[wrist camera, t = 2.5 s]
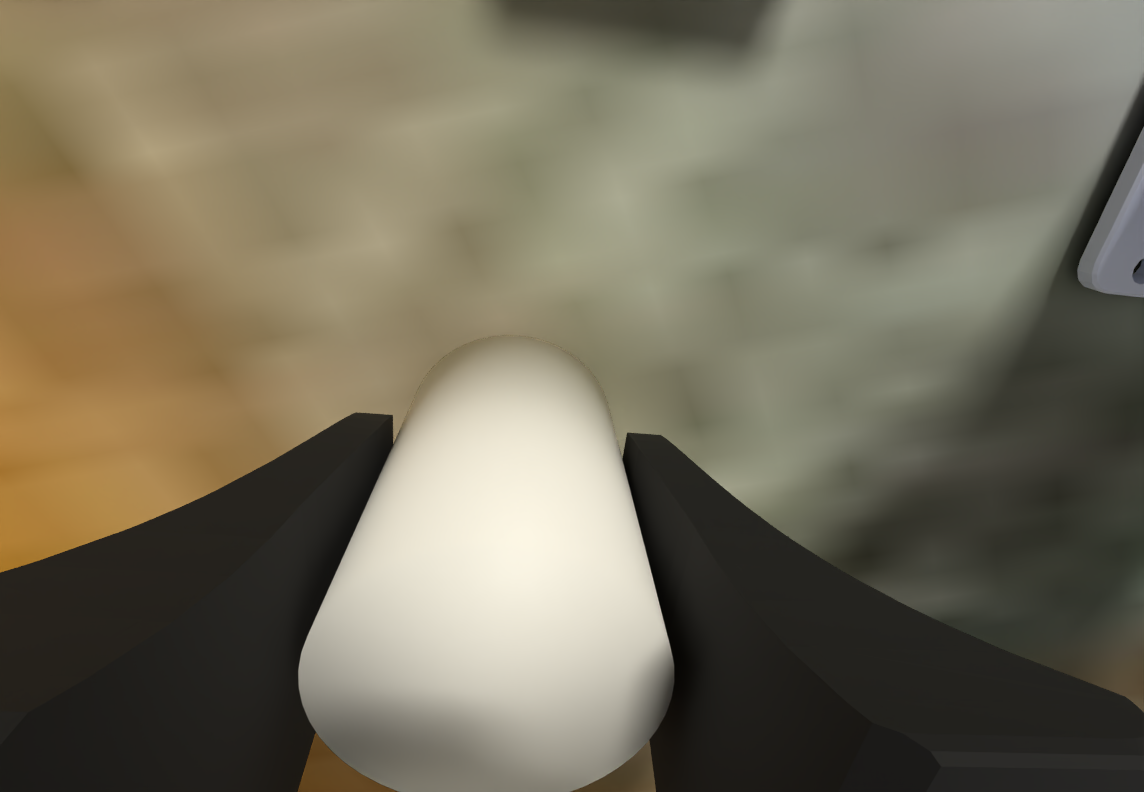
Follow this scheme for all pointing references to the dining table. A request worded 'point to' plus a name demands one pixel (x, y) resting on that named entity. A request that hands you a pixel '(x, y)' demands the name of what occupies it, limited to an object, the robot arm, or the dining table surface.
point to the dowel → (493, 591)
